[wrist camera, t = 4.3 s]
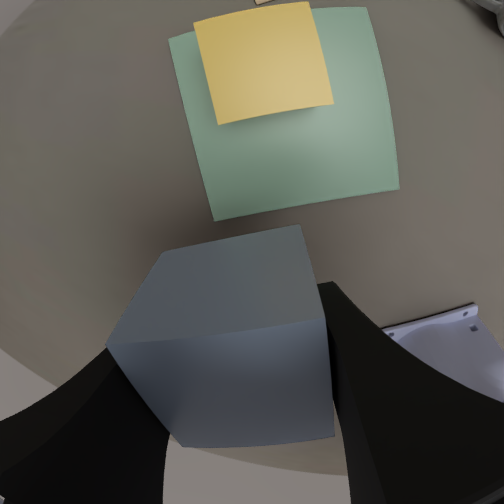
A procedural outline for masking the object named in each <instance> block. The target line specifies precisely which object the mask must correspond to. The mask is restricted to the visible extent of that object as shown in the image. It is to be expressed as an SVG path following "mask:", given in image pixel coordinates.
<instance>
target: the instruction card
mask: <svg viewBox="0 0 504 504" xmlns="http://www.w3.org/2000/svg"><path fill="white" fill-rule="evenodd" d="M269 1H273V0H255V2H256V4H257V5H260V4H263V3H266V2H269Z"/></svg>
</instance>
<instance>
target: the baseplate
mask: <svg viewBox="0 0 504 504" xmlns="http://www.w3.org/2000/svg"><path fill="white" fill-rule="evenodd" d="M311 12H312V16H313V19H314V22H315V26H316V29H317V33H318V37H319V40H320V44H321V48H322V52H323V56H324V60H325V64H326V68H327V73H328V77H329V81H330V86H331V91H332V95H333V100H334V104H332V105H325V106H318V107H311V108H305V109H298V110H292V111H286V112H280V113H275V114H269V115H264V116H259V117H254V118H249V119H245V120H240V121H236V122H231V123H226V124H222V125H218V123H217V118H216V114H215V110H214V106H213V102H212V98H211V94H210V90H209V86H208V81H207V77H206V73H205V69H204V65H203V61H202V57H201V53H200V48H199V44H198V40H197V36H196V32H195V31H192V32H189V33H185V34H182V35H179V36H176V37H173V38H170V39H168V41H169V45H170V50H171V54H172V58H173V63H174V67H175V71H176V75H177V80H178V84H179V88H180V92H181V96H182V100H183V104H184V108H185V112H186V116H187V120H188V124H189V128H190V132H191V136H192V140H193V144H194V148H195V152H196V156H197V159H198V163H199V167H200V171H201V175H202V178H203V182H204V186H205V189H206V193H207V197H208V201H209V204H210V208H211V211H212V215H213V219H214V222H215V221H220V220H225V219H230V218H235V217H240V216H245V215H250V214H255V213H261V212H266V211H271V210H277V209H282V208H287V207H293V206H299V205H304V204H310V203H316V202H321V201H327V200H333V199H339V198H345V197H352V196H358V195H364V194H371V193H377V192H384V191H391V190H397V189H399V177H398V165H397V155H396V146H395V138H394V130H393V123H392V116H391V110H390V104H389V98H388V93H387V88H386V82H385V78H384V73H383V68H382V64H381V59H380V55H379V51H378V47H377V43H376V39H375V36H374V32H373V29H372V25H371V22H370V18H369V15H368V12H367V9H366V7H333V8H316V9H311Z"/></svg>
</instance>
